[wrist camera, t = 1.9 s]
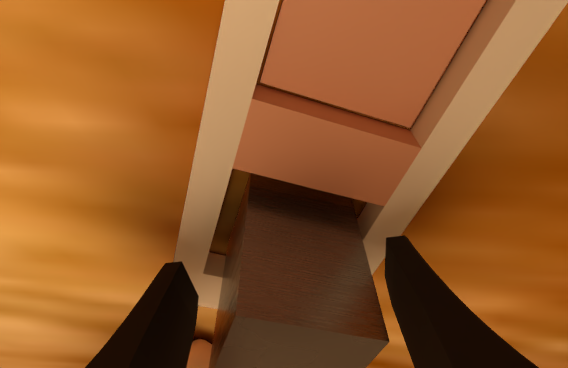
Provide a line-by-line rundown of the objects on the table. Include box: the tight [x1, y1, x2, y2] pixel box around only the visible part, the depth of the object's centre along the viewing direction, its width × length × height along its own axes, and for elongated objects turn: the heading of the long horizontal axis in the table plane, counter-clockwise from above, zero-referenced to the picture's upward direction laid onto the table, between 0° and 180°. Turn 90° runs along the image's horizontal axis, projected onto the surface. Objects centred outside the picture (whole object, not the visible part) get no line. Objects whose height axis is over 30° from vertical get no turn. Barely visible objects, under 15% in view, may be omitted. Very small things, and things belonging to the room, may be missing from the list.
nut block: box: [209, 173, 389, 368], centre depth 12 cm, size 4×4×6 cm
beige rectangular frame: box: [173, 0, 568, 309], centre depth 9 cm, size 8×26×1 cm, turn 162°
